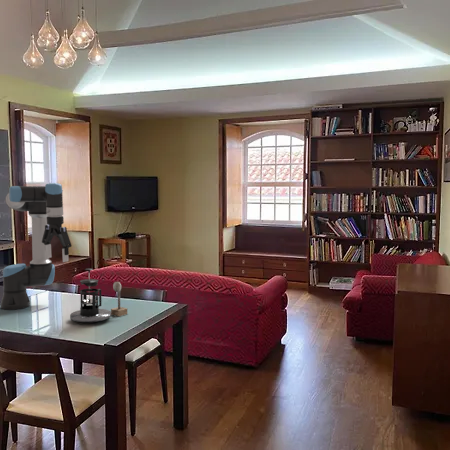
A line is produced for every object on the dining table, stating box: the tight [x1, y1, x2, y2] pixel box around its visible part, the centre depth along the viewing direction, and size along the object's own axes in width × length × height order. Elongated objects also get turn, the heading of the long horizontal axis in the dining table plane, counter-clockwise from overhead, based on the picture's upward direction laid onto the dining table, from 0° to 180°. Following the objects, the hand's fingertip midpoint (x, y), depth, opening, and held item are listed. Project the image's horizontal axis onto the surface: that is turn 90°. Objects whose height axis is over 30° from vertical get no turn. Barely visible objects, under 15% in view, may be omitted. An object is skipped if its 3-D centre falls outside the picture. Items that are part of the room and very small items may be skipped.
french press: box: [79, 268, 102, 316], centre depth 237 cm, size 12×9×23 cm
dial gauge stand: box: [110, 281, 128, 317], centre depth 248 cm, size 6×6×18 cm
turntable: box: [69, 308, 112, 323], centre depth 238 cm, size 20×20×2 cm
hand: (57, 259), depth 227 cm, fingers open, 13 cm apart
